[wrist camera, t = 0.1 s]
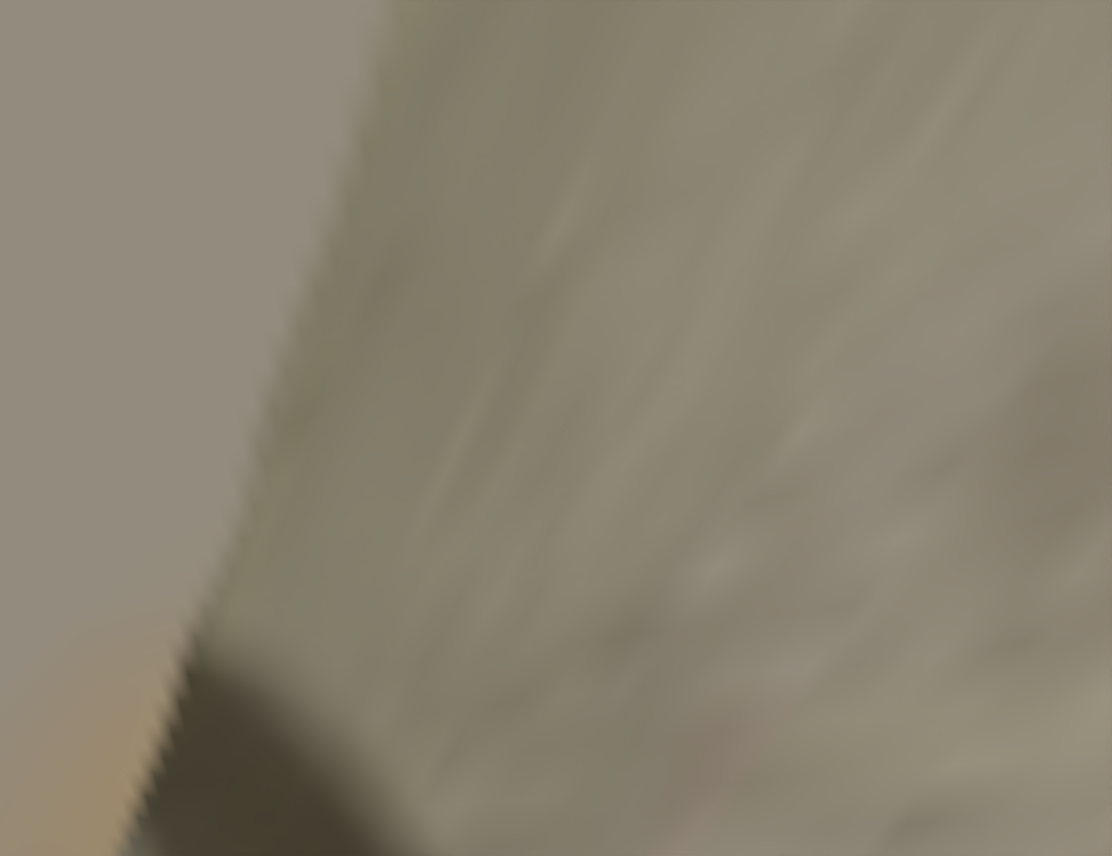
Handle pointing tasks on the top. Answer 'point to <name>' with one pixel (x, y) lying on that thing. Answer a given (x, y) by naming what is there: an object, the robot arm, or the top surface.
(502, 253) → the top surface
